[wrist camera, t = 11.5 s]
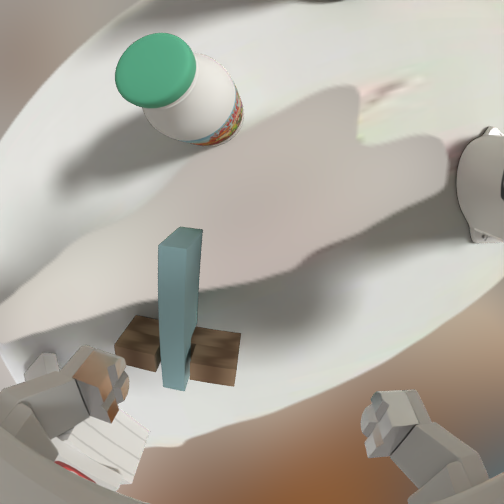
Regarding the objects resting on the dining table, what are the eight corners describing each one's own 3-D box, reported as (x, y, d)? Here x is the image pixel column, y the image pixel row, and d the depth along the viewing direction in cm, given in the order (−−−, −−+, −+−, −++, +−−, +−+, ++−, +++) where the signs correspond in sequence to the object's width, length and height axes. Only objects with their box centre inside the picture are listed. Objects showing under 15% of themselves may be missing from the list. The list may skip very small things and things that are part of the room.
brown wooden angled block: (240, 333, 40) (236, 370, 32) (238, 349, 41) (234, 386, 33) (135, 314, 40) (114, 345, 32) (137, 331, 41) (117, 362, 33)
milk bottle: (178, 145, 32) (82, 136, 13) (184, 86, 30) (103, 20, 11) (241, 149, 32) (211, 134, 13) (247, 88, 30) (229, 5, 11)
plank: (202, 229, 35) (186, 249, 28) (195, 355, 42) (184, 391, 34) (179, 226, 35) (158, 245, 28) (177, 352, 42) (163, 386, 34)
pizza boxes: (55, 338, 43) (4, 395, 26) (162, 434, 50) (142, 501, 33) (29, 367, 47) (-10, 414, 30) (118, 447, 54) (97, 499, 37)
